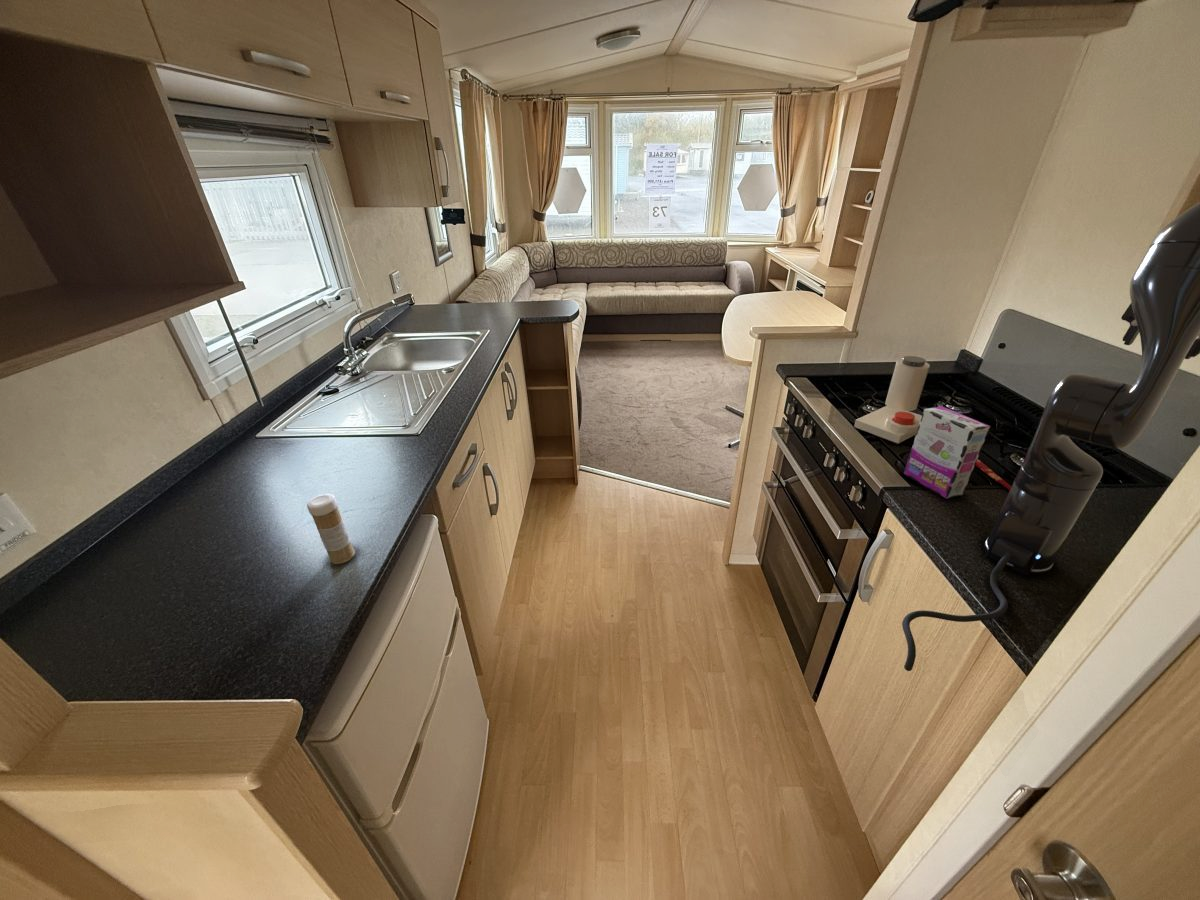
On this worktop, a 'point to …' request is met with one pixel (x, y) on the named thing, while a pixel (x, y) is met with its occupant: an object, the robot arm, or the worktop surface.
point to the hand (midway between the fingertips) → (1156, 351)
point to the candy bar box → (945, 451)
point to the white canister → (907, 383)
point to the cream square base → (888, 425)
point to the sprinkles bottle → (331, 528)
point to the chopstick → (992, 474)
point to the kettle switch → (904, 418)
